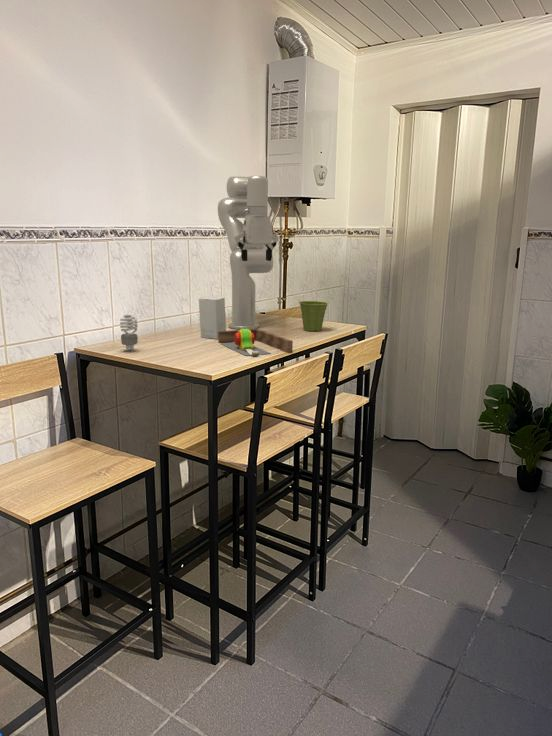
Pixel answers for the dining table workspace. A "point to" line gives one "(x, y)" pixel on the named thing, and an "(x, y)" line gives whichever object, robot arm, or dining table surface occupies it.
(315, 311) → the plant pot
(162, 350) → the dining table surface
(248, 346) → the toy measuring tape
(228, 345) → the mat
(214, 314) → the skincare box
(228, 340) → the wall
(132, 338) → the light bulb
